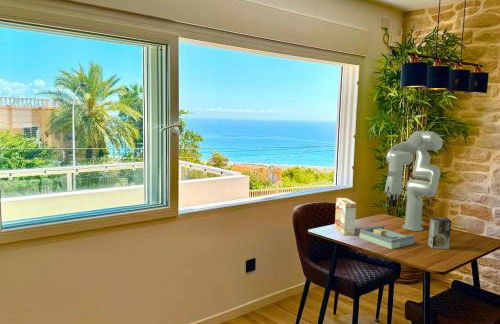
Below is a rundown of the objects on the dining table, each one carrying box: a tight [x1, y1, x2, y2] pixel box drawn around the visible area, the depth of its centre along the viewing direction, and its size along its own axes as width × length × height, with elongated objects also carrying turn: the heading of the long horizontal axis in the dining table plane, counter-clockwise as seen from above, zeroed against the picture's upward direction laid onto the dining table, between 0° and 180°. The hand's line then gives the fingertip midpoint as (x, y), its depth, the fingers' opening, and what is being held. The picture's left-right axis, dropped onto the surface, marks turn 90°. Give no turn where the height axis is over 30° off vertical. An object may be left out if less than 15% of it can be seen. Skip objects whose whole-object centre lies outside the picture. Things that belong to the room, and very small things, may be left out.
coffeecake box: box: [334, 197, 357, 236], centre depth 239 cm, size 15×7×20 cm, turn 9°
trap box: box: [359, 224, 416, 250], centre depth 225 cm, size 20×22×5 cm
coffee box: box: [427, 216, 452, 250], centre depth 216 cm, size 9×6×16 cm
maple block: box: [373, 228, 388, 237], centre depth 221 cm, size 5×5×4 cm
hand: (393, 205), depth 226 cm, fingers closed
